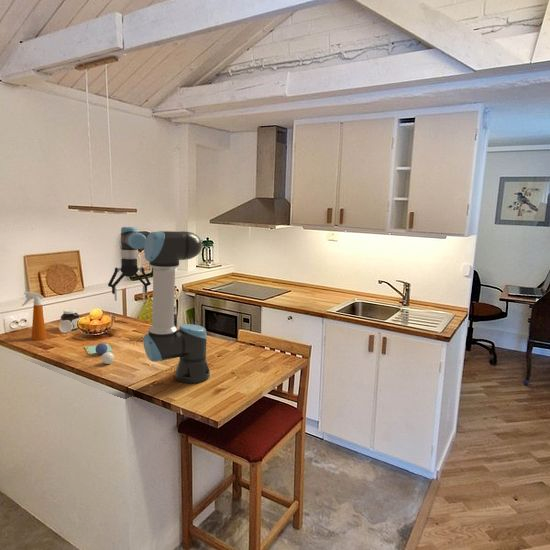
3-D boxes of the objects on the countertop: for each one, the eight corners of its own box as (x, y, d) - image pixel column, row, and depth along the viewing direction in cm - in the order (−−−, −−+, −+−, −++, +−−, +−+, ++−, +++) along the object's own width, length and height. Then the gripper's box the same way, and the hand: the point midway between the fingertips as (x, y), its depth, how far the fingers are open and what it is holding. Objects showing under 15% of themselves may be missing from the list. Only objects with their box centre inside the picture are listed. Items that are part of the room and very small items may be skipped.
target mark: (113, 351, 210) (113, 350, 210) (87, 354, 203) (87, 354, 203) (108, 344, 219) (108, 343, 219) (83, 347, 213) (83, 347, 213)
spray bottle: (23, 338, 222) (20, 290, 218) (45, 335, 228) (43, 289, 224) (23, 342, 216) (21, 293, 212) (47, 339, 222) (44, 291, 218)
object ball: (108, 355, 204) (108, 344, 203) (96, 356, 201) (96, 346, 200) (106, 351, 208) (106, 341, 208) (94, 353, 205) (94, 342, 204)
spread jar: (78, 326, 247) (77, 307, 246) (83, 331, 239) (82, 311, 237) (55, 329, 240) (55, 310, 238) (60, 334, 231) (59, 314, 229)
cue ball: (115, 364, 193) (115, 353, 192) (103, 366, 190) (102, 355, 189) (112, 360, 197) (112, 349, 196) (100, 362, 194) (100, 351, 193)
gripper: (153, 256, 214) (154, 296, 217) (101, 257, 203) (103, 299, 207) (156, 258, 207) (156, 299, 210) (102, 259, 197) (103, 302, 200)
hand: (129, 299), depth 209 cm, fingers open, 13 cm apart
